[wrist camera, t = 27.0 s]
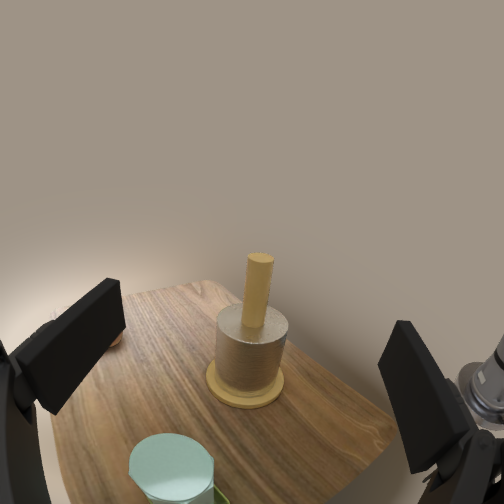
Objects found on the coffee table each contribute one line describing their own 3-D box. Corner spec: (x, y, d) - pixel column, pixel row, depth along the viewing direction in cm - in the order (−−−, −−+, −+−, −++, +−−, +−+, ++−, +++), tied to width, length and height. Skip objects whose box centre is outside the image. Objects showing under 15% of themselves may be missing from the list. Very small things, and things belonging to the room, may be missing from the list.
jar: (214, 521, 18) (213, 505, 14) (145, 512, 17) (122, 490, 14) (214, 470, 25) (214, 437, 22) (152, 463, 25) (137, 427, 21)
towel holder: (288, 408, 39) (325, 283, 31) (203, 406, 38) (204, 275, 30) (277, 355, 52) (299, 244, 44) (208, 353, 51) (213, 237, 43)
